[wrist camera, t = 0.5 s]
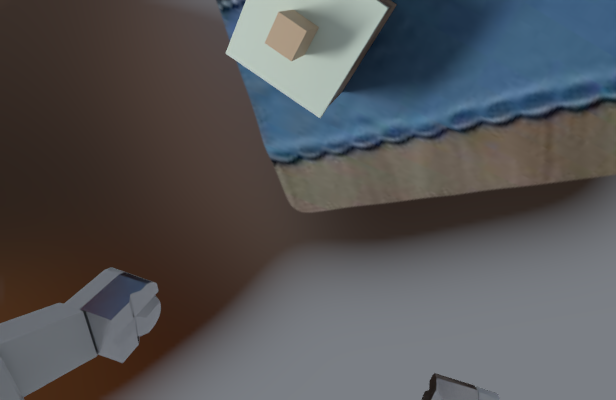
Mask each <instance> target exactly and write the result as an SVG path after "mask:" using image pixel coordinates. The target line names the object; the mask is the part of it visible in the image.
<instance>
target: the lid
mask: <svg viewBox="0 0 616 400" xmlns="http://www.w3.org/2000/svg"><path fill="white" fill-rule="evenodd" d="M388 9H389V7H387V6H386V5H385V4H383V3H382V2H380V1H379V0H246V2H245V5H244V7H243V10H242V12H241V15H240V17H239V20H238V23H237V25H236V28H235V30H234V33H233V35H232V38H231V41H230V43H229V46H228V48H227V51H226V54H227V55H229V56H230V57H231V58H233V59H234V60H236V61H237V62H239V63H240V64H242V65H243V66H245V67H246V68H247V69H249V70H250V71H252V72H253V73H255V74H256V75H258V76H259V77H261V78H262V79H264V80H265V81H266V82H268V83H269V84H271V85H272V86H274V87H275V88H277V89H278V90H280V91H281V92H282V93H284V94H285V95H287V96H288V97H290V98H291V99H293V100H294V101H296V102H297V103H298V104H300V105H301V106H303V107H304V108H306V109H307V110H309V111H310V112H312V113H313V114H315V115H316V116H317V117H319V118H321V117H322V116H323V114H324V112H325V111H326V109H327V107H328V106H329V104H330V103H331V101H332V99H333V98H334V96H335V95H336V93H337V91H338V90H339V88H340V86H341V85H342V83H343V82H344V80H345V78H346V77H347V75H348V73H349V72H350V70H351V69H352V67H353V65H354V64H355V62H356V61H357V59H358V57H359V56H360V54H361V52H362V51H363V49H364V48H365V46H366V44H367V43H368V41H369V40H370V38H371V36H372V35H373V33H374V31H375V30H376V28H377V27H378V25H379V23H380V22H381V20H382V18H383V17H384V15H385V14H386V12H387V10H388Z"/></svg>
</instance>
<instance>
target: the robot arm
mask: <svg viewBox="0 0 616 400" xmlns="http://www.w3.org/2000/svg"><path fill="white" fill-rule="evenodd" d="M157 292H158V288H157V284H156V283H154V282H151V281H149V280H146V279H143V278H140V277H138V276H134V275H132V274H129V273H126V272H123V271H120V270H117V269H114V268H109V269H106V270H104V271H103V272H102V273H100V274H99V275H98V276H97V277H96V278H95V279H93V280H92V281H91V282H90V283H88V284H87V285H86V286H85V287H84V288H82V289H81V290H80V291H79V292H78V293H76V294H75V295H74V296H73V297H72V298H70V299H69V300H68V301H67V302H66V303H64V304H62V303H58V304H55V305H52V306H49V307H46V308H43V309H41V310H37V311H35V312H32V313H29V314H26V315H24V316H20V317H18V318H15V319H12V320H9V321H7V322H4V323H1V324H0V400H24V398H23V397H24V396H26V395H28V394H30V393H32V392H34V391H35V390H37V389H39V388H40V387H42V386H44V385H46V384H48V383H50V382H51V381H53V380H55V379H56V378H59V377H60V376H62V375H64V374H66V373H68V372H69V371H71V370H73V369H75V368H76V367H78V366H80V365H82V364H84V363H85V362H87V361H89V360H91V359H93V358H94V357H96V356H97V354H98V355H102V356H104V357H107V358H110V359H113V360H116V361H118V362H122V363H123V362H124V361H125V360H126V359H127V357H128V356H129V355H130V354H131V353H132V351H133V350H134V349H135V348H136V347H137V346H138V345H139V336H142V335H144V334H146V333H148V332H149V331H150V330H151V329H152V328H153V327H154V325H155V323H156V322H157V320H158V318H159V315H160V310H161V305H160V302H159V300H158V299H157V297H156V296H155V294H156V293H157ZM422 400H500V397H499V396H498V394H497V393H495V392H492V391H488V390H485V389H482V388H479V387H475V386H474V385H471V384H468V383H465V382H461V381H458V380H455V379H452V378H449V377H446V376H442V375H439V374H436V373H434V374H433V375H432V377H431V379H430V383H429V390H427V391H425V392H424V395H423V397H422Z"/></svg>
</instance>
